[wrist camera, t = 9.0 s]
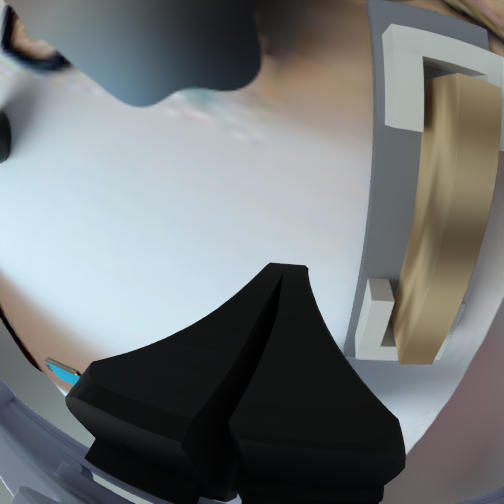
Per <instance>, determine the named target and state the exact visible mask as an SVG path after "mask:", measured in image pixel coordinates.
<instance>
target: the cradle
mask: <svg viewBox="0 0 504 504" xmlns="http://www.w3.org/2000/svg"><path fill="white" fill-rule="evenodd" d="M367 8H368V16H369V25H370V35H371V47H372V63H373V90H374V126H373V154H372V171H371V184H370V196H369V206H368V215H367V224H366V232H365V239H364V246H363V253H362V260H361V266H360V272H359V278H358V283H357V289H356V294H355V299H354V304H353V309H352V314H351V318H350V323H349V327H348V332H347V336H346V340H345V344H344V356H356V359H359V360H387V361H398V355H397V349H396V343H395V337H394V332H393V327H392V321H391V316H390V315H391V312H392V309H393V305H394V297H395V294H396V290H397V286H398V282H399V278H400V274H401V270H402V266H403V262H404V258H405V253H406V248H407V244H408V239H409V234H410V228H411V223H412V217H413V211H414V205H415V198H416V190H417V182H418V174H419V164H420V152H421V137H422V132H423V128H424V80H427V79H431V78H436V77H441V76H446V75H451V74H456V73H461V74H464V75H467V76H470V77H473V78H476V79H479V80H482V81H485V82H487V83H490V84H493V85H495V86H498V87H500V88H501V99H502V111H501V136H500V148H499V150H500V151H504V58H503V57H501V56H499V55H497V54H494V53H492V52H490V50H489V42H488V36H487V30H486V29H483V28H481V27H478V26H476V25H473V24H471V23H468V22H465V21H463V20H460V19H457V18H454V17H451V16H448V15H444V14H441V13H438V12H434V11H430V10H427V9H423V8H419V7H414V6H410V5H405V4H401V3H395V2H390V1H384V0H368V2H367ZM465 306H466V303H465V301H464V299H462V302H461V304H460V307H459V309H458V311H457V314H456V316H455V318H454V321H453V323H452V325H451V327H450V329H449V331H448V334H447V336H446V338H445V340H444V342H443V344H442V346H441V348H440V350H439V351H438V353H437V355H436V357H435V359H434V360H440V358H441V356H442V354H443V352H444V350H445V349H446V347H447V345H448V343H449V341H450V339H451V337H452V335H453V333H454V331H455V329H456V326H457V324H458V322H459V320H460V318H461V316H462V313H463V311H464V309H465Z"/></svg>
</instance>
